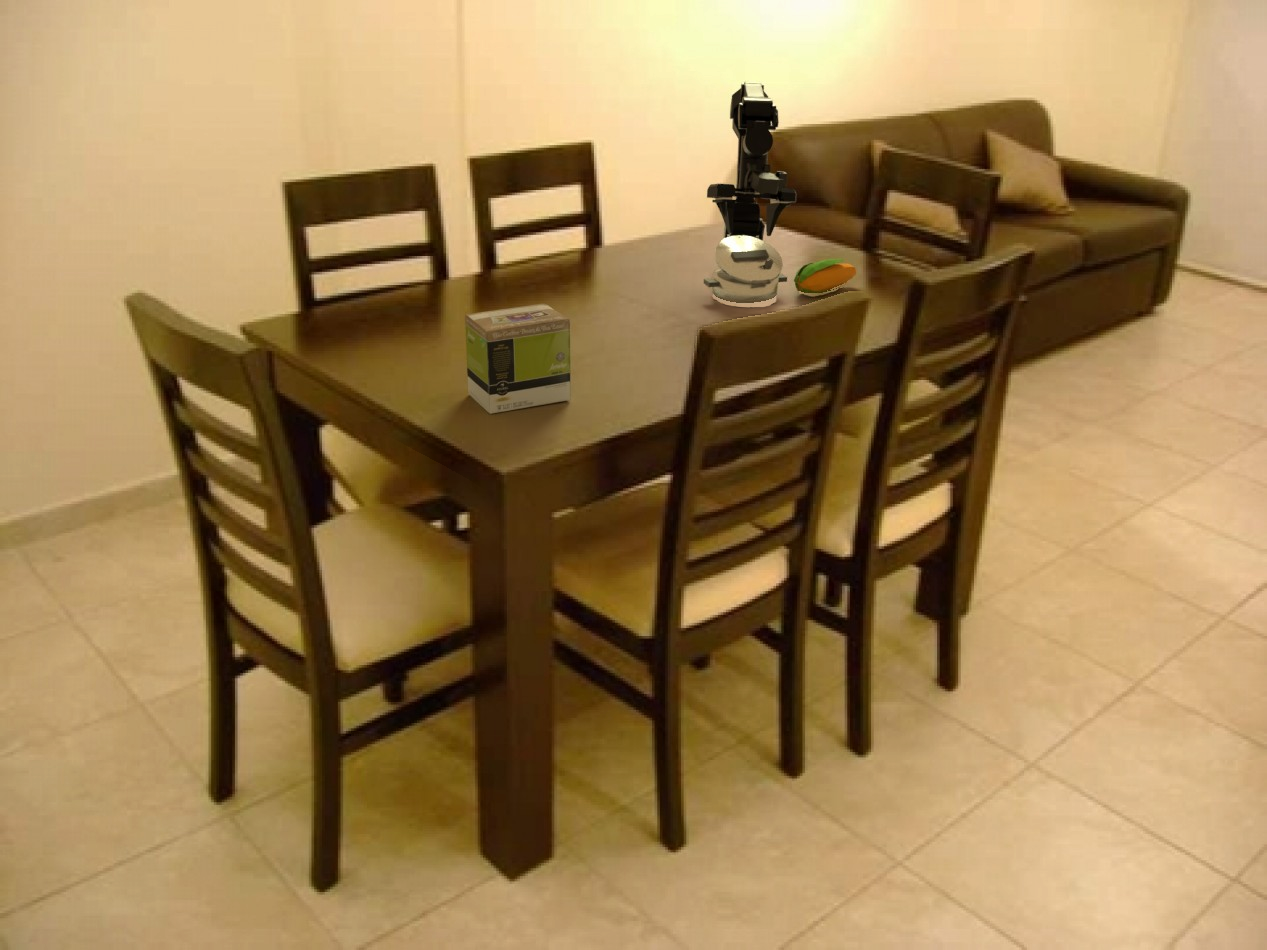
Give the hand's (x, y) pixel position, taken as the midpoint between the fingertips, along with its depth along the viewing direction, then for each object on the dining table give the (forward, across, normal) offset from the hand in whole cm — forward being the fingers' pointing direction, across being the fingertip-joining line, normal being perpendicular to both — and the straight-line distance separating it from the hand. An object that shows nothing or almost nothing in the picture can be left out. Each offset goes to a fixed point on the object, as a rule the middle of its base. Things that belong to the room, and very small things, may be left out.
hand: (749, 235), depth 256 cm
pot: (+13, 0, +1) cm, 13 cm away
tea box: (+31, -61, -38) cm, 79 cm away
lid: (+6, -1, -1) cm, 6 cm away
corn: (+12, +20, +2) cm, 23 cm away
